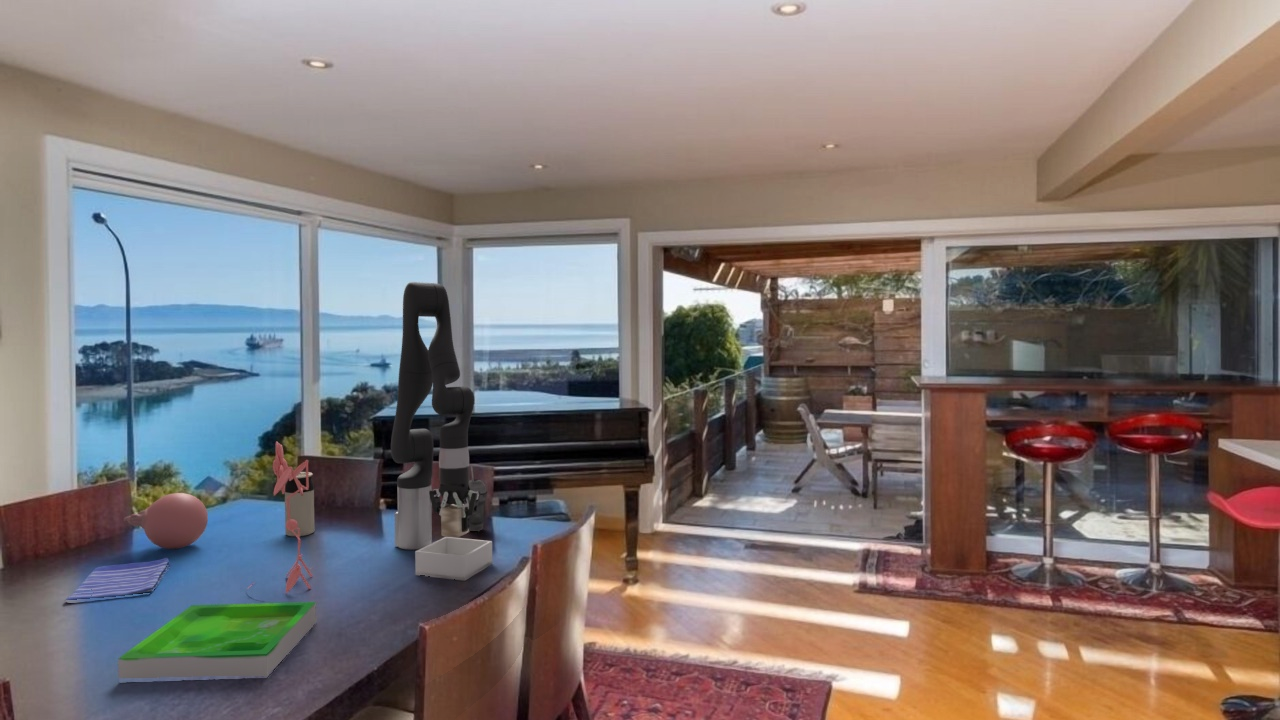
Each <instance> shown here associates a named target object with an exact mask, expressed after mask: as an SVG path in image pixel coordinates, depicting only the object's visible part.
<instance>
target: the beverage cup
mask: <svg viewBox="0 0 1280 720" xmlns="http://www.w3.org/2000/svg"><path fill="white" fill-rule="evenodd" d="M473 471H474V470H473V465H472V464H470V473H471V474H470V475H471V480H470V479H469V487H470V490H472V491H475V492H477V491H479V492H480V499H479V503H478V508H477V513H475V514H473V515H471V516H470V528H469V532H470V531H478V532H481V531H480V530H482V529H483V530H484V523H485V521H484V520H485V508H486V499H487V495H488V494H487V493H488V491H487V487H486V485H485V483H484V481H482V480H481V479H474V472H473ZM469 498H470V496H469V495H468V497H467V500H468V503H469V505H470V499H469ZM483 530H482V531H483Z"/></svg>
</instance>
